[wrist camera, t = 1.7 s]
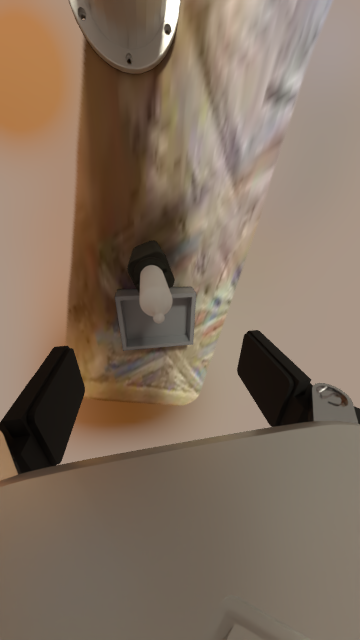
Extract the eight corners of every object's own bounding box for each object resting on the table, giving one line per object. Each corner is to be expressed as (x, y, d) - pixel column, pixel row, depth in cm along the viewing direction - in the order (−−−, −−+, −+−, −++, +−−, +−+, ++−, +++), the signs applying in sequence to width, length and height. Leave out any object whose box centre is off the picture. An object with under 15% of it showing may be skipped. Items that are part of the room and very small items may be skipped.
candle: (166, 265, 36) (202, 334, 15) (142, 275, 37) (142, 358, 15) (156, 238, 34) (180, 274, 12) (129, 249, 34) (108, 304, 12)
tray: (117, 289, 37) (114, 296, 34) (191, 286, 39) (196, 293, 36) (124, 340, 43) (123, 350, 39) (189, 335, 45) (193, 344, 42)
